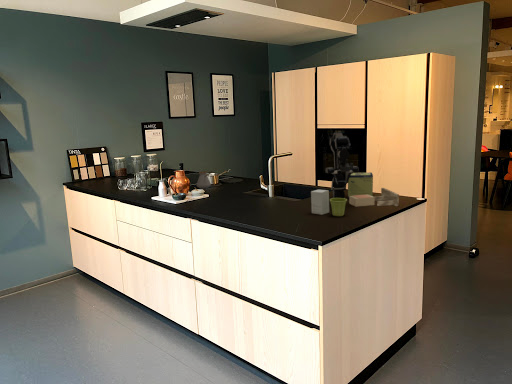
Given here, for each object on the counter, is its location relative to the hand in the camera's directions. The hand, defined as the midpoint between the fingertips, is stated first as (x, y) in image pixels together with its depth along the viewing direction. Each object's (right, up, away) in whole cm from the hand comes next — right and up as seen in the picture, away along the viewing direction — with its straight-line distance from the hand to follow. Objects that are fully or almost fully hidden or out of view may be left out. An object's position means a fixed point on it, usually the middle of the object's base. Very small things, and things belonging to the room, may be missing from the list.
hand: (342, 184), depth 249 cm
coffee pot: (-90, -2, +83) cm, 122 cm away
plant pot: (-6, -17, -20) cm, 27 cm away
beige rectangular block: (+13, -12, +4) cm, 18 cm away
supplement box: (-15, -17, -13) cm, 26 cm away
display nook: (+24, -11, +4) cm, 27 cm away
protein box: (+17, -8, +24) cm, 30 cm away
